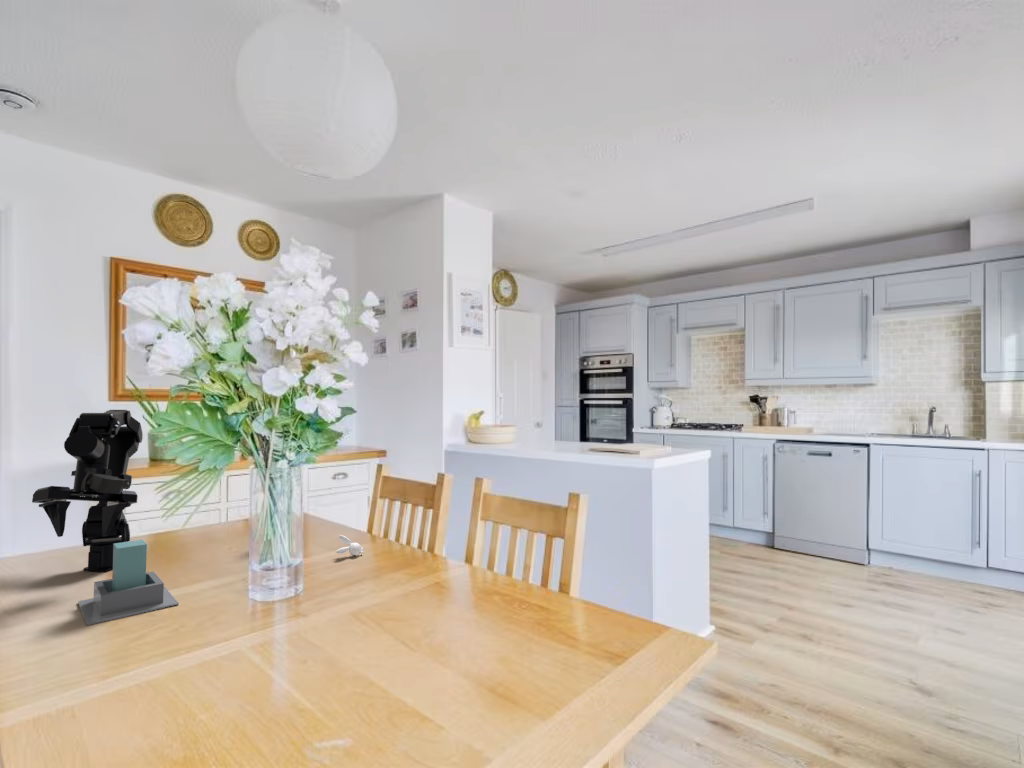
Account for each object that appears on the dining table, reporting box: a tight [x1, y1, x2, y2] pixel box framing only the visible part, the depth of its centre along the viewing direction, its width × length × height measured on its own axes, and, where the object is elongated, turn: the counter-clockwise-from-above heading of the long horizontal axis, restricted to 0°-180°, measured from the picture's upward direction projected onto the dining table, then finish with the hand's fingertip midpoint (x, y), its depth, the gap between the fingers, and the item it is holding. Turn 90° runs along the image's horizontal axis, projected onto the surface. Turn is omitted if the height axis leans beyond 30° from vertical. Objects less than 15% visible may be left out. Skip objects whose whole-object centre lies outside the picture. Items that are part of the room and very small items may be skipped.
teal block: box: [111, 539, 148, 592], centre depth 111 cm, size 5×5×12 cm
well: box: [77, 571, 179, 626], centre depth 111 cm, size 15×15×4 cm
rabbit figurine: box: [336, 534, 364, 556], centre depth 147 cm, size 6×4×8 cm
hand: (83, 536), depth 118 cm, fingers open, 9 cm apart
